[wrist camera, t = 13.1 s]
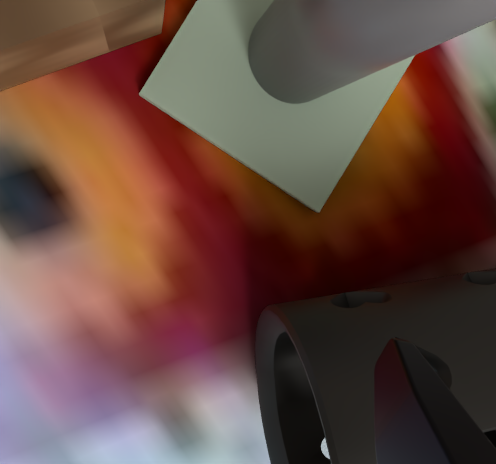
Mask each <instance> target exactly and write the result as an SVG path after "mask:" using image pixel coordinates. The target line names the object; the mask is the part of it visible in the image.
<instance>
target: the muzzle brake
mask: <svg viewBox="0 0 496 464" xmlns="http://www.w3.org/2000/svg"><path fill="white" fill-rule="evenodd" d="M392 338H398V339H403V340H407V341H410V342H412V343H413V344H414V345H415V346H416V347H417V349H418V350H419V351H420V353H421V354H422V355H423V356H424V358H425V359H426V360H427V361H428V363H429V364H430V365H431V367H432V368H433V369H434V370H435V372H436V373H437V374H438V375H439V377H440V378H441V379H442V381H443V382H444V383H445V384H446V386H447V387H448V388H449V389H450V391H451V392H452V393H453V394H454V396H455V397H456V398H457V400H458V401H459V402H460V403H461V405H462V406H463V407H464V408H465V410H466V411H467V412H468V414H469V415H470V416H471V417H472V419H473V420H474V421H475V422H476V424H477V425H478V426H479V428H480V429H481V430H482V431H483V433H484V434H485V435H486V436H487V438H488V439H489V440H490V441H491V443H492V444H493V445H494V447H495V448H496V268H495V269H489V270H483V271H476V272H470V273H464V274H458V275H452V276H446V277H439V278H433V279H427V280H421V281H415V282H409V283H402V284H396V285H390V286H384V287H378V288H372V289H365V290H359V291H353V292H347V293H341V294H334V295H328V296H322V297H316V298H310V299H304V300H297V301H291V302H285V303H279V304H273V305H267V307H266V308H265V309H264V310H263V311H262V313H261V314H260V317H259V320H258V323H257V329H256V338H255V363H256V374H257V384H258V395H259V404H260V410H261V417H262V423H263V428H264V434H265V439H266V444H267V448H268V453H269V458H270V462H271V464H377V459H376V449H375V426H374V369H375V364H376V362H377V360H378V358H379V356H380V355H381V353H382V351H383V350H384V348H385V346H386V344H387V343H388V341H389V340H390V339H392ZM324 438H325V439H326V443H327V448H328V452H329V456H330V459H328V458H326V457H325V456H324V454H323V453H322V451H321V443H322V441H323V439H324Z"/></svg>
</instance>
